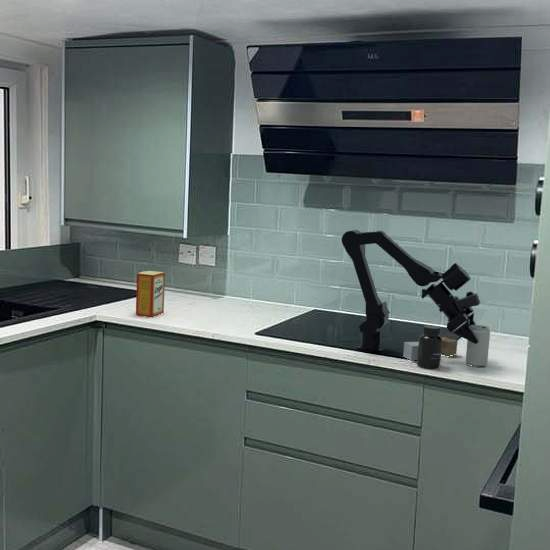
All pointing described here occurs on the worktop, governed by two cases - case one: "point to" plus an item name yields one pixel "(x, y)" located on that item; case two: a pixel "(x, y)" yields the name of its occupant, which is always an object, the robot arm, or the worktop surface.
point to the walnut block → (448, 346)
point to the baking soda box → (150, 293)
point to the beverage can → (478, 346)
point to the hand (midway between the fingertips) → (478, 340)
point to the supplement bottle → (429, 348)
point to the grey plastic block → (411, 350)
